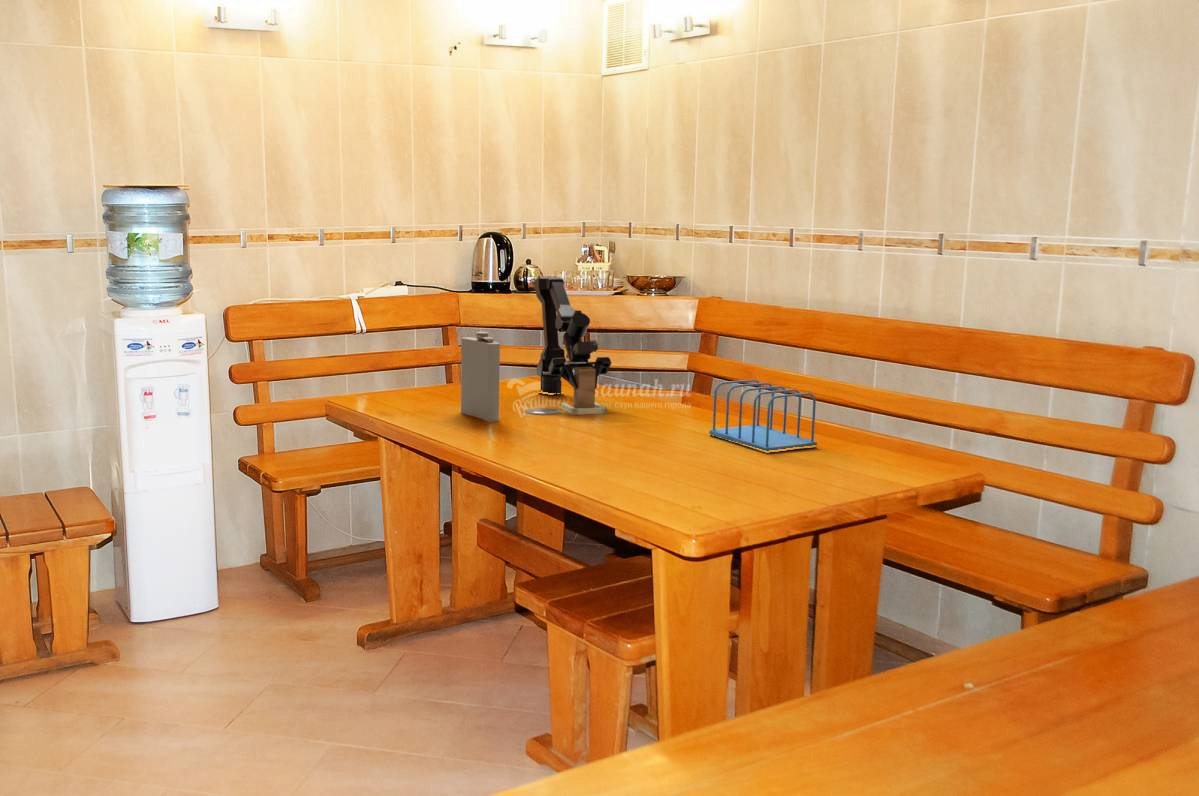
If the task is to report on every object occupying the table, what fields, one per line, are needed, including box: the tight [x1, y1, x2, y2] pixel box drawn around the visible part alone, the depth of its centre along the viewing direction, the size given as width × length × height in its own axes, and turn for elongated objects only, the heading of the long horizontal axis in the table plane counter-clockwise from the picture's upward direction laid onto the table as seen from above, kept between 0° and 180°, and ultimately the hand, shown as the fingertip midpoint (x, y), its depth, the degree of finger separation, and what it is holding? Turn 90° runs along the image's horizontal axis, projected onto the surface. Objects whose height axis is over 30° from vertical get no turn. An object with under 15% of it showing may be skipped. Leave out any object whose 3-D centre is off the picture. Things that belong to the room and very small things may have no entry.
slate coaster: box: [523, 407, 562, 416], centre depth 333 cm, size 11×11×1 cm
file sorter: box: [708, 379, 818, 451], centre depth 300 cm, size 25×17×15 cm
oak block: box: [573, 367, 596, 408], centre depth 336 cm, size 5×5×13 cm
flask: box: [460, 331, 501, 423], centre depth 324 cm, size 17×5×25 cm, turn 37°
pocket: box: [560, 402, 608, 416], centre depth 337 cm, size 11×11×2 cm
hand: (586, 388), depth 335 cm, fingers open, 6 cm apart
